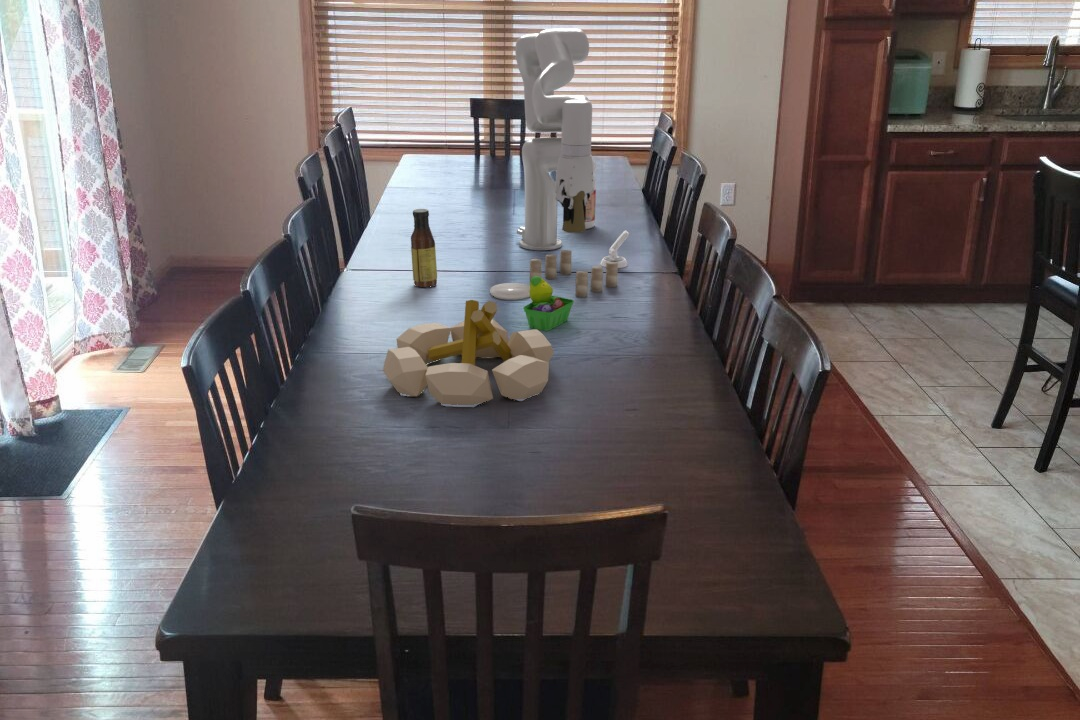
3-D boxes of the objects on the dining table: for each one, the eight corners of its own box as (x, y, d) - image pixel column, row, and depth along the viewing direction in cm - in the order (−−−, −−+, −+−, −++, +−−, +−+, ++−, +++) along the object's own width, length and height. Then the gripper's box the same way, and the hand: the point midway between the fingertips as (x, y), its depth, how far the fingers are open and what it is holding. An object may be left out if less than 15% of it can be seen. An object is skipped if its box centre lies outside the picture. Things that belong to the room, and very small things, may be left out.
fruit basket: (549, 334, 240) (550, 287, 236) (517, 327, 244) (517, 280, 240) (574, 320, 249) (575, 274, 245) (543, 313, 253) (543, 268, 249)
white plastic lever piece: (647, 250, 288) (627, 238, 285) (619, 282, 293) (600, 270, 290) (642, 238, 294) (623, 225, 291) (615, 269, 299) (596, 257, 296)
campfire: (550, 415, 199) (551, 331, 192) (372, 411, 200) (368, 326, 194) (555, 349, 231) (556, 275, 225) (402, 346, 233) (399, 272, 226)
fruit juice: (559, 225, 333) (560, 137, 323) (579, 221, 339) (581, 133, 329) (580, 231, 327) (582, 141, 317) (600, 226, 333) (603, 137, 323)
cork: (588, 228, 272) (589, 186, 268) (581, 233, 267) (582, 191, 263) (566, 225, 274) (567, 184, 270) (559, 231, 269) (559, 189, 265)
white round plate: (481, 293, 268) (481, 288, 267) (511, 284, 275) (511, 279, 275) (512, 302, 261) (512, 298, 260) (542, 293, 268) (542, 288, 268)
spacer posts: (527, 282, 277) (527, 260, 274) (565, 270, 287) (565, 249, 285) (582, 298, 265) (582, 275, 262) (619, 285, 275) (620, 263, 273)
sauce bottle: (441, 283, 275) (439, 209, 268) (429, 290, 270) (427, 214, 262) (420, 280, 277) (417, 206, 270) (407, 286, 272) (404, 211, 265)
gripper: (586, 144, 271) (584, 213, 278) (542, 152, 260) (541, 224, 266) (608, 148, 266) (606, 218, 273) (565, 156, 255) (563, 230, 262)
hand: (574, 220), depth 270 cm, fingers closed on cork, 3 cm apart
